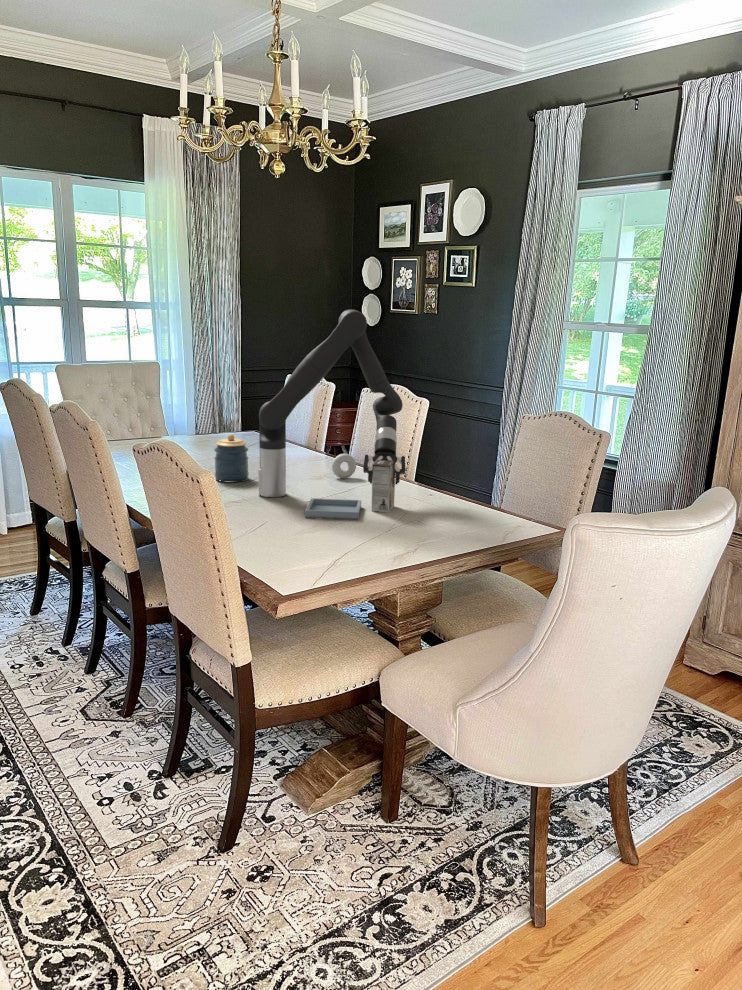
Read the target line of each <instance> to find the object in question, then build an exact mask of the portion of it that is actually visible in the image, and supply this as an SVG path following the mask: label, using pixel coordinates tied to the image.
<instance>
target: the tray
mask: <svg viewBox="0 0 742 990" xmlns="http://www.w3.org/2000/svg"><path fill="white" fill-rule="evenodd" d="M360 509H362V500H361V499H346V498H344V499H343V498H342V499H341V498H340V499H339V498H319V497H318V498H313V497H312V498H310V501H309V502H308V504H307V507H306V508H305V510H304V519H316V518H322V519H321V520H324V519H325V520H344V521H345V520H347V521H348V520H349V521H351V520H352V521H358V520H359V517H360V513H361V510H360Z"/></svg>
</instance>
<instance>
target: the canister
mask: <svg viewBox="0 0 742 990" xmlns="http://www.w3.org/2000/svg"><path fill="white" fill-rule="evenodd" d="M215 444H216V445H217V446H216V447H215V448H214V449H213V452H215V456H214V457H213V458H214V477H216V478H215V480H216V481H218V480H221V481H241V482H244V481H243V480H245V481H247V480H249V475H250V474H249V456H248V451H249V448H248V447H247V446H246V445H247V442H245V441H244V440H242V439H241V438H235V435H234V434H232V433H230V434H228V436H227V438H221V439H219V441H217V442H216V443H215ZM246 479H247V480H246ZM221 481H220V482H221ZM218 482H219V481H218Z"/></svg>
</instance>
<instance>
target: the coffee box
mask: <svg viewBox="0 0 742 990" xmlns="http://www.w3.org/2000/svg"><path fill="white" fill-rule="evenodd" d="M395 462H396V461H393V460H377V461H376V462H375V463H374V462H373V463H374V464H373V463H372V464H373V468H372V484H371V512H375V511H379V513H388V512H389V513H390V512H391V511H392V510H393V508H394V507H395V493H396V492H395V491H396V490H395V489H396V484H395V478H396V474H395V464H396V463H397V462H396V463H395ZM391 509H392V510H391Z"/></svg>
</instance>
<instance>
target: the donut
mask: <svg viewBox="0 0 742 990" xmlns="http://www.w3.org/2000/svg"><path fill="white" fill-rule="evenodd" d="M331 462H332V463H331V469H332V472H333V474H334V476H336V477H337V478H340V479H348V478H350V477H351V476H353V474H355V472H356V470H357V461H356V459H355V458H354V457H353V455H350V454H348V453H340V454H338V455H336V457H335V458H333V461H331ZM343 463H346V464H347V468H346V469H343V468H341V466H342V464H343Z"/></svg>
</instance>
